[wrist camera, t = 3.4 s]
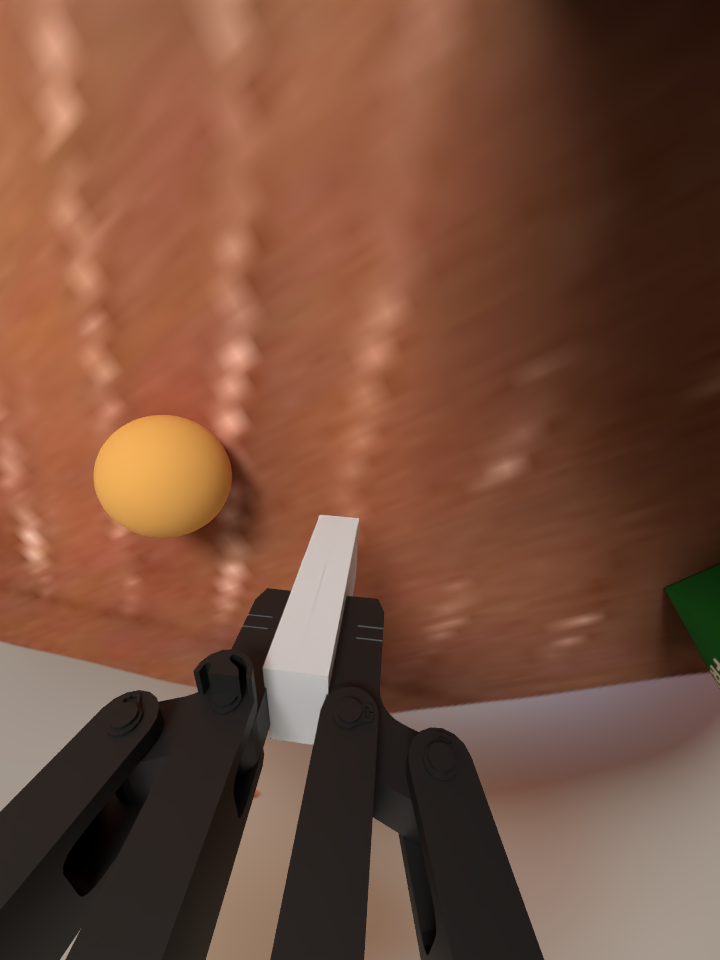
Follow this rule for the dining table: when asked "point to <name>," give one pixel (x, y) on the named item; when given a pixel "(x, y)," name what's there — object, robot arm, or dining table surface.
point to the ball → (162, 476)
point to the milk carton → (701, 614)
